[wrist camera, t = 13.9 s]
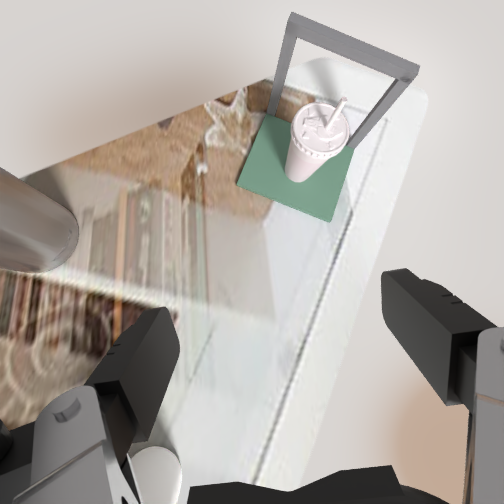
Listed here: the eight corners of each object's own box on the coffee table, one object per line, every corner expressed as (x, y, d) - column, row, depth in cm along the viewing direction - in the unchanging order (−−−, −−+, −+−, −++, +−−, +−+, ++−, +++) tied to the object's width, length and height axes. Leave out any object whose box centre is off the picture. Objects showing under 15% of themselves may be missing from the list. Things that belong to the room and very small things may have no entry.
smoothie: (315, 196, 38) (366, 136, 25) (270, 184, 38) (298, 118, 24) (322, 156, 40) (375, 78, 26) (280, 144, 39) (311, 59, 26)
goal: (236, 185, 38) (244, 118, 24) (268, 109, 41) (291, 11, 27) (329, 222, 39) (388, 177, 25) (354, 144, 41) (420, 65, 28)
